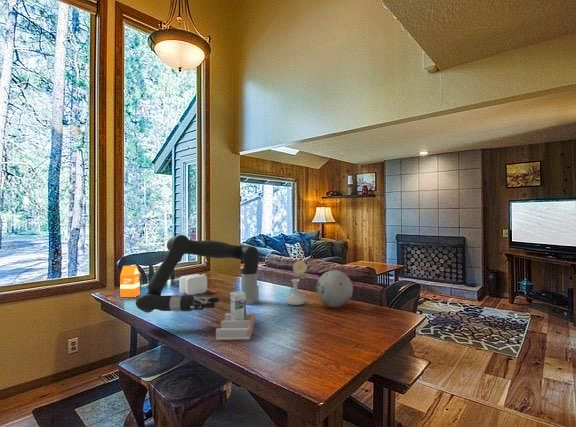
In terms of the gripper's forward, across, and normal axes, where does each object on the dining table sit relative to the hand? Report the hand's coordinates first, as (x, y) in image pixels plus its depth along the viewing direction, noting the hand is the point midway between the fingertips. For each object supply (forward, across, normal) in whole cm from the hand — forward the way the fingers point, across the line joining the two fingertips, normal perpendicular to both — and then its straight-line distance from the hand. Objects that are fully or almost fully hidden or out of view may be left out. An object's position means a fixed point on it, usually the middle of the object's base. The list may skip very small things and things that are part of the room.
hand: (216, 302), depth 148 cm
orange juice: (-69, +58, +11) cm, 91 cm away
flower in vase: (+38, +34, +11) cm, 53 cm away
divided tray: (+10, -5, +11) cm, 16 cm away
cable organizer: (-30, +65, +11) cm, 72 cm away
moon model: (+59, +28, +11) cm, 66 cm away
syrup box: (+10, 0, +10) cm, 14 cm away
